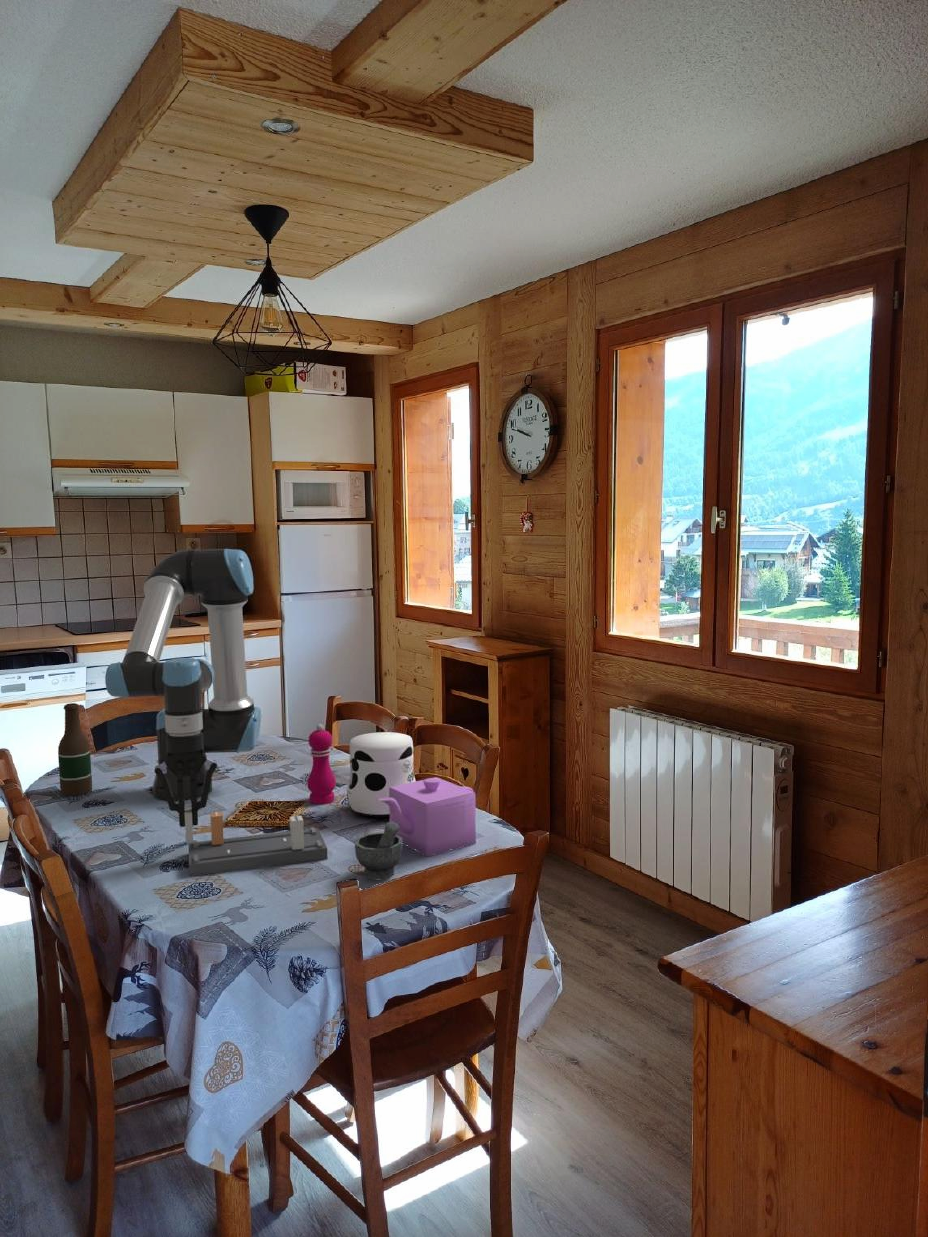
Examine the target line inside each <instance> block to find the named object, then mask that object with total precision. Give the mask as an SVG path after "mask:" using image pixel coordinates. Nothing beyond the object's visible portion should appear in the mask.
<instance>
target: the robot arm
mask: <svg viewBox="0 0 928 1237" xmlns="http://www.w3.org/2000/svg"><path fill="white" fill-rule="evenodd" d="M250 561H251V560H250V559H249V557H248V554H247V553H246V552H245V551H243V550H242V549H233V548H231V549H230V548H210V549H208V548H207V549H181V550H178V551H176V552H173V553H171V554H169V555H168V556H166V557H164V558H163V559H162V560H161V561H160V562H158V563H157V564H156V566H154V568H152V570H151V571H150V573H149V574H148V576H147V577H146V580H145V582H144V585H143V594H144V596H145V597H144V599H143V601H142V605H141V607H140V611H139V613H138V615H137V619H136V622H135V624H134V628H133V630H132V634H131V637H130V639H129V642H128V645H127V648H126V651H125V654H124V657H123V660H122V661H121V662H120V661H119V662H114V663H110V664H109V665H107V668H106V670H105V675H104V676H105V677H104V683H105V688H106V691H107V693H108V695H110V696H111V697H116V698H139V697H140V698H142V697H143V698H145V697H146V698H148V697H163V699H164V708H163V709H161V710H160V711H159V712H157V715H156V727H155V730H156V742H157V743H156V744H157V758H158V759H157V760H158V761H157V762H158V765H156V766H155V767H154V774H155V777H154V780H153V783H152V796H153V797H154V798H156V799H160V800H164V801H166V802H167V805H168V808H169V811H171V812H177V813H178V823H179V824H178V825H179V828H184V830H185V834H184V835H185V843H186V844H188V843H192V842H193V841H194V831H193V830H194V829H193V826H198V824H199V813H198V811H199V810H201V809H202V808H203V809H205V808H206V807H207V802H208V798H209V793H210V792H212V790H213V780H212V778H213V774H214V773H215V771H216V769H217V768H218V763H217V762H218V761H216V760H215V759H214V760H211V759H210V758H208V757H207V754H210V753H211V754H213V753H214V754H216V753H220V754H221V753H237V754H238V753H245V752H251V751H254V750H255V748H256V747H257V744H258V742H259V736H260V731H261V721H262V711H261V708H260V707H258V706H255V703H254V702H255V701H254V698H252V697H251V696H249V695H248V686H247V682H248V681H247V668H246V667H247V666H246V653H245V652H246V650H245V635H244V634H245V633H244V617H243V607H244V605H246V604H247V602H248V601H249V600H248V596H250V595H252V594H253V592H254V589H255V588H254V575H253V574H254V573H253V569H252V564H251V562H250ZM187 596H200V604H201V605H202V606H203V607H205V609H207V618H208V632H209V647H210V660H211V662H210V663H211V664H210V663H209V662H208V661H206V660H205V659H202V658H201V659H200V658H192V657H179V658H178V657H177V658H172V659H168V660H166V661H164V662H163V661H162V662H161V661H160V660H161V656H162V653H163V650H164V646H165V644H166V641H167V637H168V634H169V631H170V629H171V628H170V627H171V624H172V621H173V618H174V615H175V612H176V608H177V605H179V604H181V603H182V601H183V600H184V597H187ZM211 686H212V690H213V691H212V692H213V698H212V699H211V700H210V701H209V703H208V708H203V702H202V700H203V698H202V694H204V693H206V692H207V691H208V690H209V689H210V688H211ZM198 797H200V798H199V801H198ZM188 799H190V803H191V804H190V806H191V807H190V808H185V807H186V806H185V800H188ZM176 801H177V802H176Z"/></svg>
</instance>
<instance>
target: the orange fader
mask: <svg viewBox="0 0 928 1237" xmlns="http://www.w3.org/2000/svg"><path fill="white" fill-rule="evenodd" d="M209 816H210V834H211V839H210V840H212V845H218V844H224V839H225V838H224V823H223V822H224V821H223V820H224V819H223V811H213V812H210V814H209Z"/></svg>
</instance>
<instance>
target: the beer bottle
mask: <svg viewBox="0 0 928 1237" xmlns="http://www.w3.org/2000/svg"><path fill="white" fill-rule="evenodd" d="M79 708H80V706H79V704H78V703H76V702H73V703H66V704H65V705H63V710H64V734H63V736H62V738H61V739H60V741H59V743H58V744H59V745H58V746H57V748H58V750H57V755H58V756H57V758H58V770H59V771H58V773H59V775H58V776H59V787H60V789H59V790H60V794H61V795H63V796H64V797H80V796H84V795H85V796H86V795H88V794H89V793H90V792H92V790H93V777H92V758H91V749H90V748H91V746H90V743H89V741H88V738H87V737H86V736H85V734H83V732H82V729H81V721H80V714H79Z"/></svg>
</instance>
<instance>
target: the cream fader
mask: <svg viewBox="0 0 928 1237" xmlns="http://www.w3.org/2000/svg"><path fill="white" fill-rule="evenodd" d="M289 823H290V824H289V827H290V829H289V831H290V834H291V847H292V850H296V849H304V830H305V829H304V819H303V816H302V815H295V816H289Z"/></svg>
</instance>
